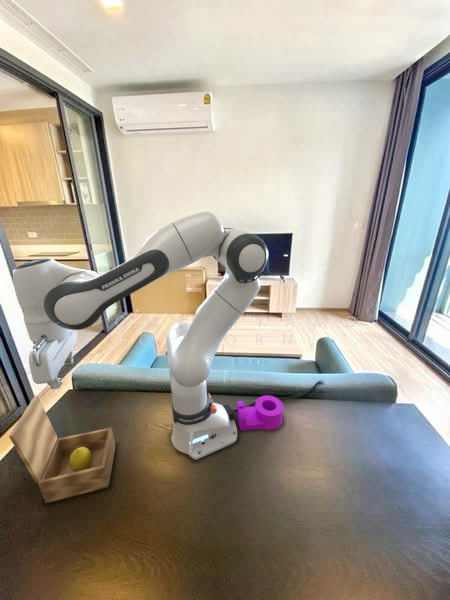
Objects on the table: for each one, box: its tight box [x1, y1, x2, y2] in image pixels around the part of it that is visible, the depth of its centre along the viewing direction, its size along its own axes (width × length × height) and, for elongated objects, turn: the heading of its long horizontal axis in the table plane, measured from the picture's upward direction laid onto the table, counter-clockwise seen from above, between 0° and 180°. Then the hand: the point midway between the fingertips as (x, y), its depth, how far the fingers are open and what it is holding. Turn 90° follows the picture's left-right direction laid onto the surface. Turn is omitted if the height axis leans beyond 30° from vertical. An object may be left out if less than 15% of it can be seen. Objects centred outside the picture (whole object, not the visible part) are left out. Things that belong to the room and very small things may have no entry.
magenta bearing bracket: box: [236, 394, 284, 431], centre depth 91 cm, size 16×10×6 cm, turn 95°
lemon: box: [70, 447, 92, 472], centre depth 73 cm, size 6×6×8 cm
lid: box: [8, 395, 58, 484], centre depth 66 cm, size 16×14×1 cm
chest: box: [37, 427, 116, 504], centre depth 73 cm, size 16×14×8 cm
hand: (63, 375), depth 65 cm, fingers open, 8 cm apart
